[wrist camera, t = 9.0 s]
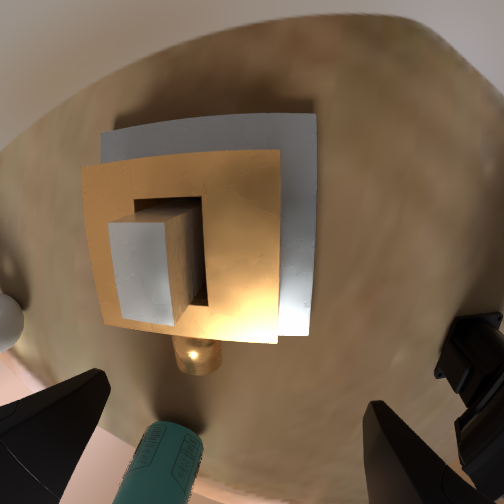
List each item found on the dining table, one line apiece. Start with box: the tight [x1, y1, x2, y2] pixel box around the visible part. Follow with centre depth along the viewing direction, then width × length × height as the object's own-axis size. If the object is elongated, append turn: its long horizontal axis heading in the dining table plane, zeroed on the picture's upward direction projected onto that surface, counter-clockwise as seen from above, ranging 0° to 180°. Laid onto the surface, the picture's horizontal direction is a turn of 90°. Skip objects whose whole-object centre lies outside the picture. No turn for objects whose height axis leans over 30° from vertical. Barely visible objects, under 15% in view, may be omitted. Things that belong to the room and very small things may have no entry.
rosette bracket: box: [81, 113, 317, 376], centre depth 16 cm, size 14×15×6 cm
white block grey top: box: [108, 196, 206, 326], centre depth 14 cm, size 2×4×9 cm, turn 179°
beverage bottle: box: [112, 421, 204, 504], centre depth 16 cm, size 6×7×20 cm
